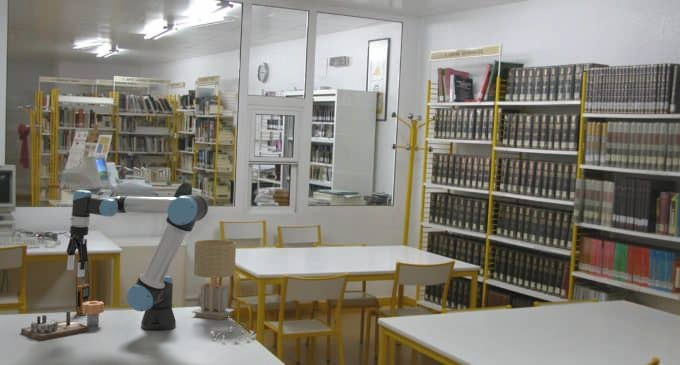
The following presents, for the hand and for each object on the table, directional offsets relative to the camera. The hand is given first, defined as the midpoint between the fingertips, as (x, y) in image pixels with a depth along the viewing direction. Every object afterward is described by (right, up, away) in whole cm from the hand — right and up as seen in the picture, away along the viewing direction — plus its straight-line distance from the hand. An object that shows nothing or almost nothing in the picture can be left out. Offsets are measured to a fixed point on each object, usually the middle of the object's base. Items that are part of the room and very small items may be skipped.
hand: (75, 273), depth 330 cm
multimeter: (-3, -23, +29) cm, 37 cm away
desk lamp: (+55, -24, +32) cm, 68 cm away
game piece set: (+71, -27, -8) cm, 76 cm away
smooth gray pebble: (+6, -24, +6) cm, 25 cm away
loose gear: (+6, -18, +5) cm, 20 cm away
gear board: (-6, -24, -8) cm, 26 cm away
